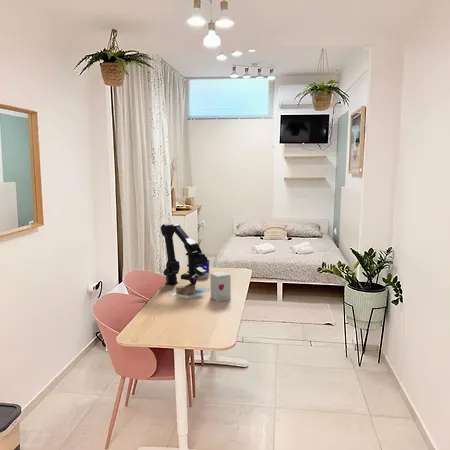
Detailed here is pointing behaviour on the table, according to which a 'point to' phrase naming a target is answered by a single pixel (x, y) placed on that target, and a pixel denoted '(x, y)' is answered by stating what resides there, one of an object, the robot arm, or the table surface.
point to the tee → (186, 289)
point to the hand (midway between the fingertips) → (193, 287)
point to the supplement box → (220, 286)
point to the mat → (197, 292)
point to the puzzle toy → (207, 269)
